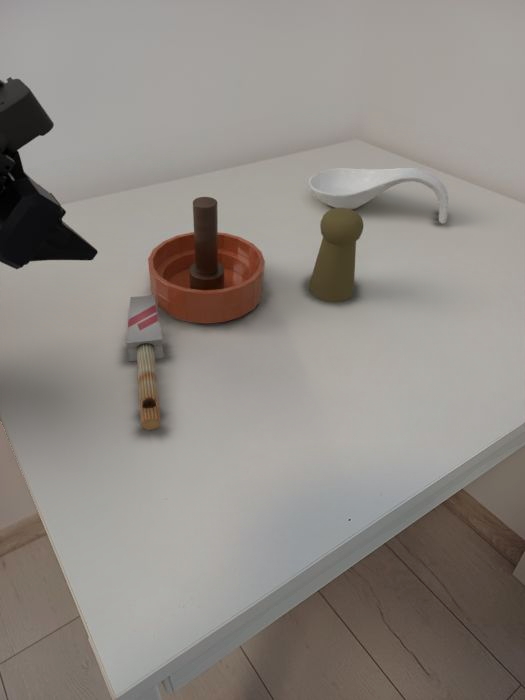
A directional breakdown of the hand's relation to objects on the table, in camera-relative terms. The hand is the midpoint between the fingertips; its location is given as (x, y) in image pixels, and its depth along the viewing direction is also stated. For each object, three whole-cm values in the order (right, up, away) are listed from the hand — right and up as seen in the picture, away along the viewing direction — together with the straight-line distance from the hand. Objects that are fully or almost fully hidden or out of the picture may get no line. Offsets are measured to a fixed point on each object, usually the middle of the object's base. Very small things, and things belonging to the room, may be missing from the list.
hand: (78, 234), depth 51 cm
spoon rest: (+38, +13, +37) cm, 54 cm away
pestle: (+11, -4, +15) cm, 19 cm away
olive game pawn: (+28, -4, +18) cm, 33 cm away
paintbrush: (+6, -13, +5) cm, 15 cm away
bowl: (+11, -4, +16) cm, 20 cm away
